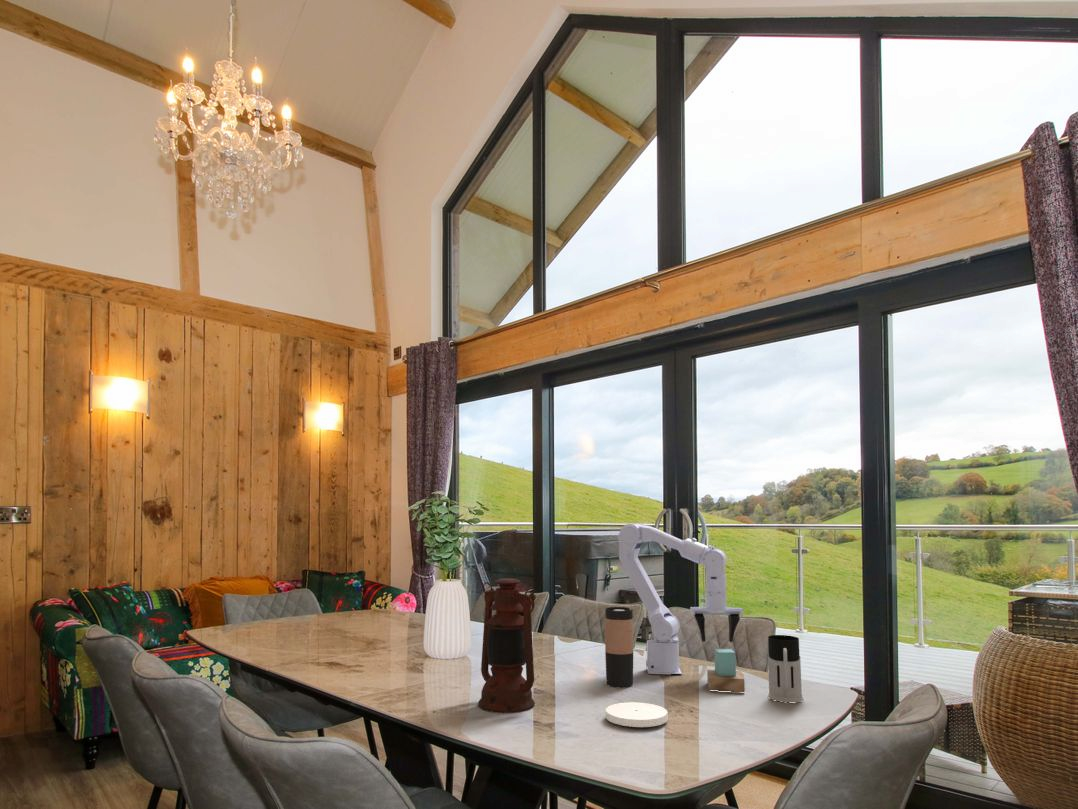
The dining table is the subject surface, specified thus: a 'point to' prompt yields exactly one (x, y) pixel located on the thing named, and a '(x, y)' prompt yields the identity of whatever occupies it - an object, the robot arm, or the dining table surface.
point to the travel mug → (619, 646)
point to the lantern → (507, 649)
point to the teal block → (725, 662)
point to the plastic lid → (636, 714)
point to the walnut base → (726, 682)
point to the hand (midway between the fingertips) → (717, 641)
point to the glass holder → (784, 668)
